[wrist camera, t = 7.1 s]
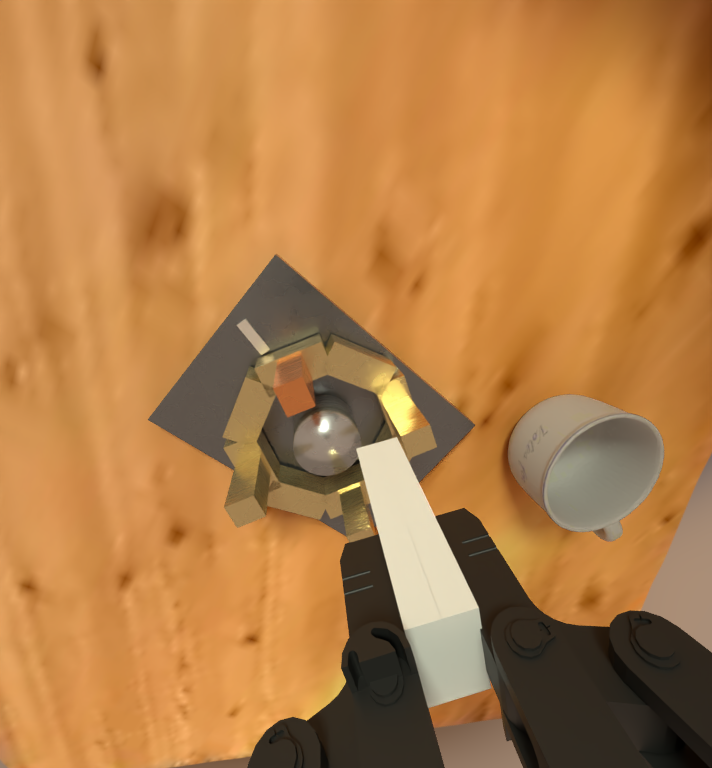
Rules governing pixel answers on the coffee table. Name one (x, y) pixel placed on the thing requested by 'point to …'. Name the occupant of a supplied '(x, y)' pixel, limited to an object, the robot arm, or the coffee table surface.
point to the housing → (332, 396)
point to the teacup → (585, 462)
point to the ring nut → (296, 394)
